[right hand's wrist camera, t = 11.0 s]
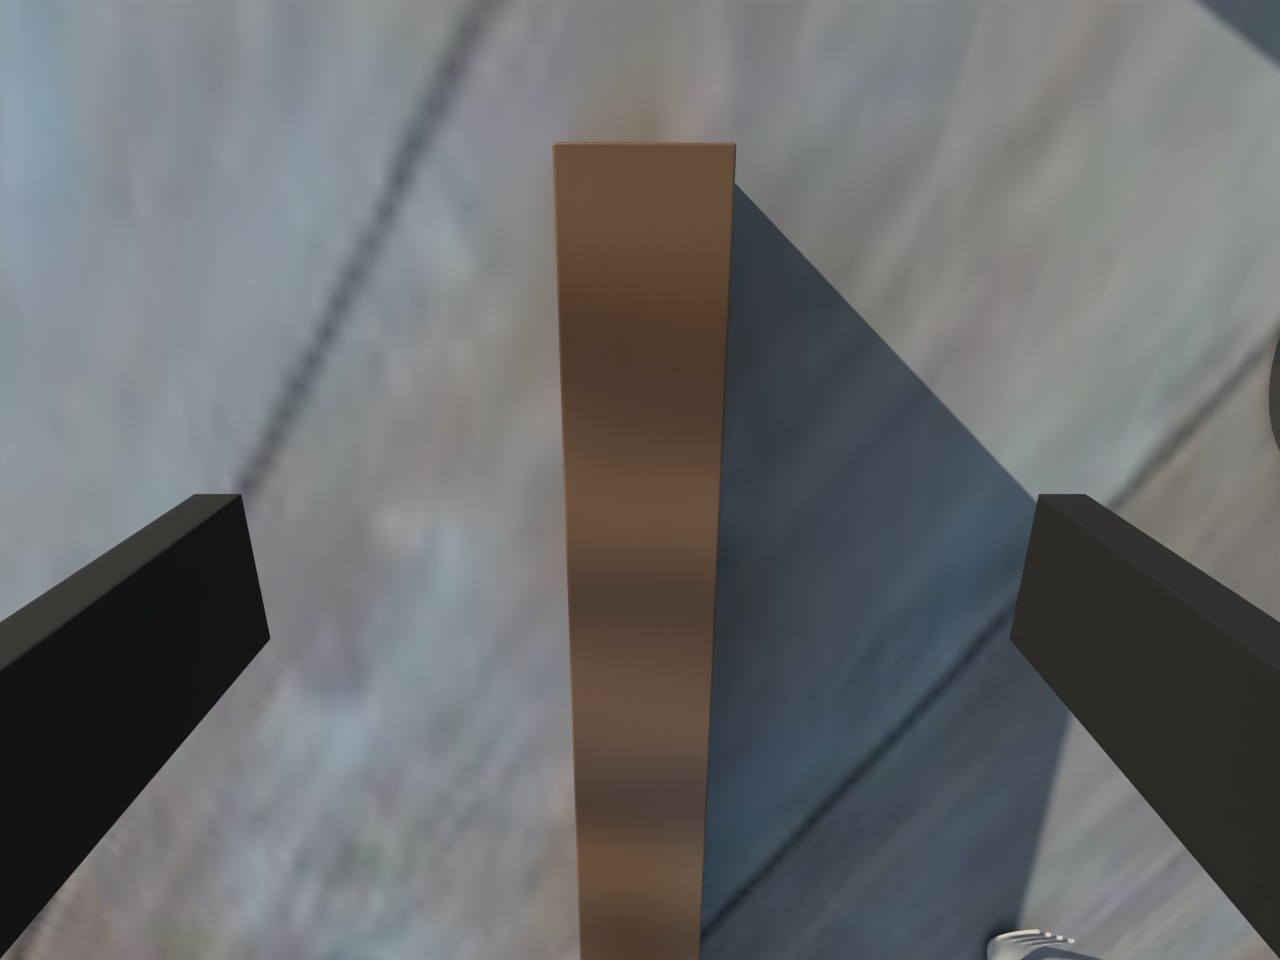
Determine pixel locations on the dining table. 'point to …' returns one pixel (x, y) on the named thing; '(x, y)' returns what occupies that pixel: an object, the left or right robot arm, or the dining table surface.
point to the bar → (642, 522)
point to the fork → (1020, 944)
